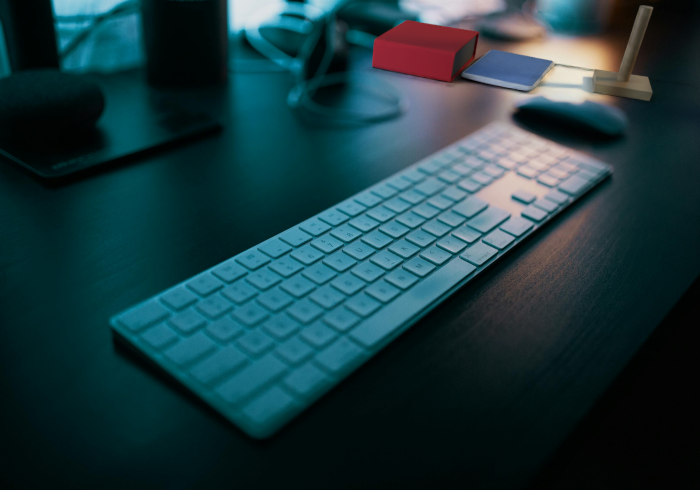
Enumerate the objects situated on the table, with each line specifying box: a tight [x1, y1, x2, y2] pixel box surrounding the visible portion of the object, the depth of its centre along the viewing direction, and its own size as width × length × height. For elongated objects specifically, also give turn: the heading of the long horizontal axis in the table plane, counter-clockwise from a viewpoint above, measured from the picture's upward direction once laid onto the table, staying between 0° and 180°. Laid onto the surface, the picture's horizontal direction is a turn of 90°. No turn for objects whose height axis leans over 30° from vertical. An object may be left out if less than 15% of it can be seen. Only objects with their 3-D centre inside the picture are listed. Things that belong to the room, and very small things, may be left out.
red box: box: [371, 19, 480, 83], centre depth 106 cm, size 18×14×5 cm
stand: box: [592, 5, 654, 102], centre depth 98 cm, size 9×9×14 cm
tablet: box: [461, 49, 555, 92], centre depth 105 cm, size 19×13×1 cm, turn 153°
